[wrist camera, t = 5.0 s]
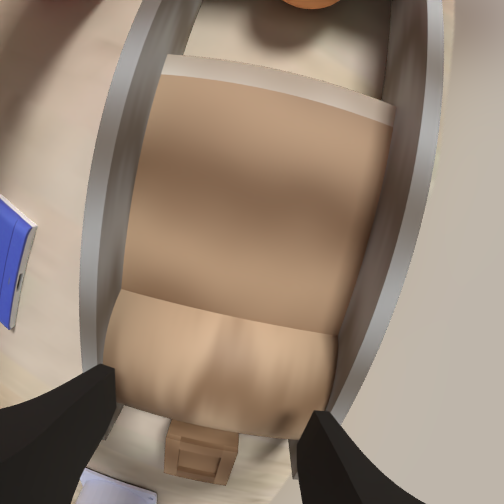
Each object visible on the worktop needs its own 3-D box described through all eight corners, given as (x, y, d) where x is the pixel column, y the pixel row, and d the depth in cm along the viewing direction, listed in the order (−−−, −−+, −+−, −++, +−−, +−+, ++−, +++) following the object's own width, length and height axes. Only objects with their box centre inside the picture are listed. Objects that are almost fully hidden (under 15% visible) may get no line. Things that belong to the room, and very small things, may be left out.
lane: (292, 389, 21) (309, 493, 11) (138, 357, 20) (85, 447, 11) (381, 17, 15) (444, -54, 5) (219, -21, 14) (201, -112, 5)
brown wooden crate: (228, 454, 17) (225, 485, 15) (172, 442, 17) (163, 472, 14) (239, 418, 17) (237, 452, 14) (176, 405, 16) (166, 437, 14)
